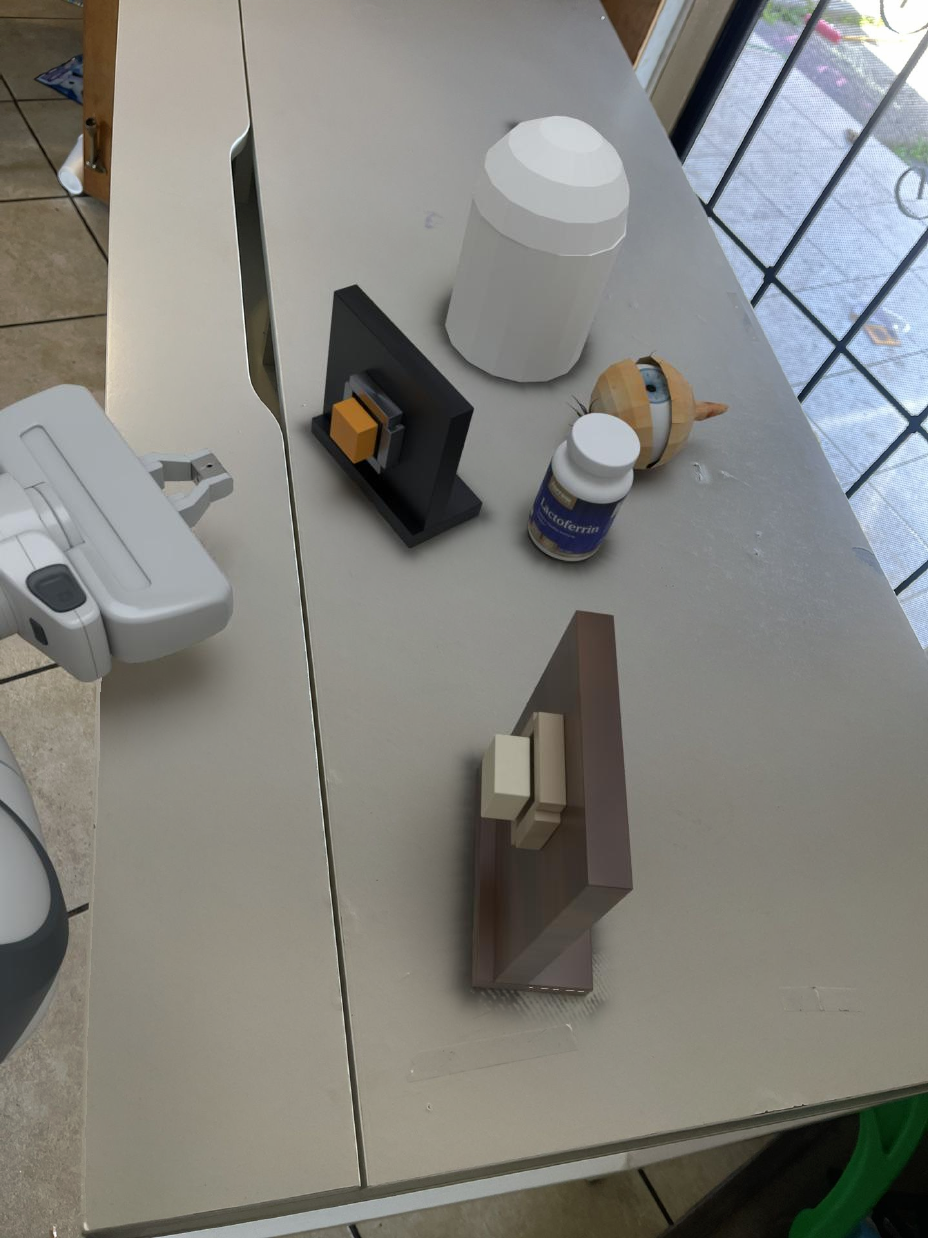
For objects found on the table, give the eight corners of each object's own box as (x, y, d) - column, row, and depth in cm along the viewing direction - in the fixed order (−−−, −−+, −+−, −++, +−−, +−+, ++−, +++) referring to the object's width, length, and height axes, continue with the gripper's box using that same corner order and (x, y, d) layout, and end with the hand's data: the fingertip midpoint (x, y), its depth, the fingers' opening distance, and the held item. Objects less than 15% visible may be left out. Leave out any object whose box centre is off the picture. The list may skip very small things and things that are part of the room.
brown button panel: (466, 986, 54) (557, 882, 38) (472, 767, 62) (550, 605, 46) (585, 996, 55) (723, 898, 39) (577, 779, 63) (689, 625, 47)
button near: (480, 817, 47) (494, 792, 44) (481, 760, 48) (495, 733, 46) (514, 821, 47) (530, 797, 44) (515, 763, 49) (530, 737, 46)
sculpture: (554, 348, 75) (730, 315, 76) (546, 414, 84) (705, 384, 85) (583, 444, 72) (767, 408, 73) (571, 502, 80) (737, 470, 81)
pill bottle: (515, 545, 73) (553, 448, 64) (538, 492, 77) (576, 394, 68) (590, 576, 73) (637, 483, 64) (609, 521, 77) (657, 426, 68)
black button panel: (406, 550, 71) (436, 424, 60) (307, 431, 76) (317, 295, 65) (479, 514, 74) (519, 389, 63) (379, 403, 79) (401, 269, 68)
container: (481, 393, 82) (539, 185, 66) (421, 297, 88) (460, 84, 72) (605, 369, 88) (687, 171, 71) (540, 280, 93) (602, 77, 77)
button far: (353, 464, 68) (357, 433, 65) (329, 435, 69) (332, 404, 66) (373, 455, 68) (378, 424, 66) (349, 427, 69) (353, 396, 67)
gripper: (-47, 471, 61) (148, 404, 67) (100, 705, 54) (302, 605, 60) (-74, 400, 55) (141, 335, 62) (85, 649, 49) (308, 546, 55)
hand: (222, 470), depth 61 cm, fingers closed
